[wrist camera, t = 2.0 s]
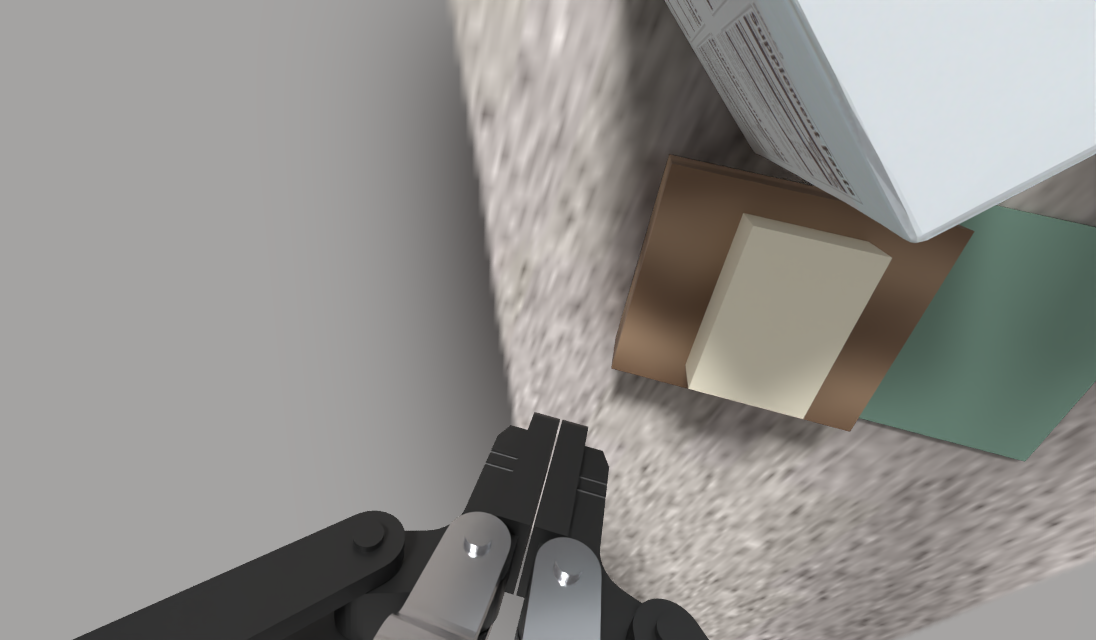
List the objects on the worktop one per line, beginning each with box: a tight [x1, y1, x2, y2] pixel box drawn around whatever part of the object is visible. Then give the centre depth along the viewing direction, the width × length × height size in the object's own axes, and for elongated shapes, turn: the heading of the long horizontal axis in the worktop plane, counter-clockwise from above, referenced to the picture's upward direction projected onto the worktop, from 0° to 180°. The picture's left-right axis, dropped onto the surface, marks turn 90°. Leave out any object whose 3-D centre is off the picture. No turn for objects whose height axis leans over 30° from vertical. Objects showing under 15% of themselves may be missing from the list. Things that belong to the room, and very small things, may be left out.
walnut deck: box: [611, 154, 975, 431], centre depth 27 cm, size 12×14×4 cm
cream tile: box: [685, 213, 892, 419], centre depth 24 cm, size 9×6×2 cm, turn 168°
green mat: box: [859, 205, 1096, 461], centre depth 27 cm, size 14×12×1 cm
